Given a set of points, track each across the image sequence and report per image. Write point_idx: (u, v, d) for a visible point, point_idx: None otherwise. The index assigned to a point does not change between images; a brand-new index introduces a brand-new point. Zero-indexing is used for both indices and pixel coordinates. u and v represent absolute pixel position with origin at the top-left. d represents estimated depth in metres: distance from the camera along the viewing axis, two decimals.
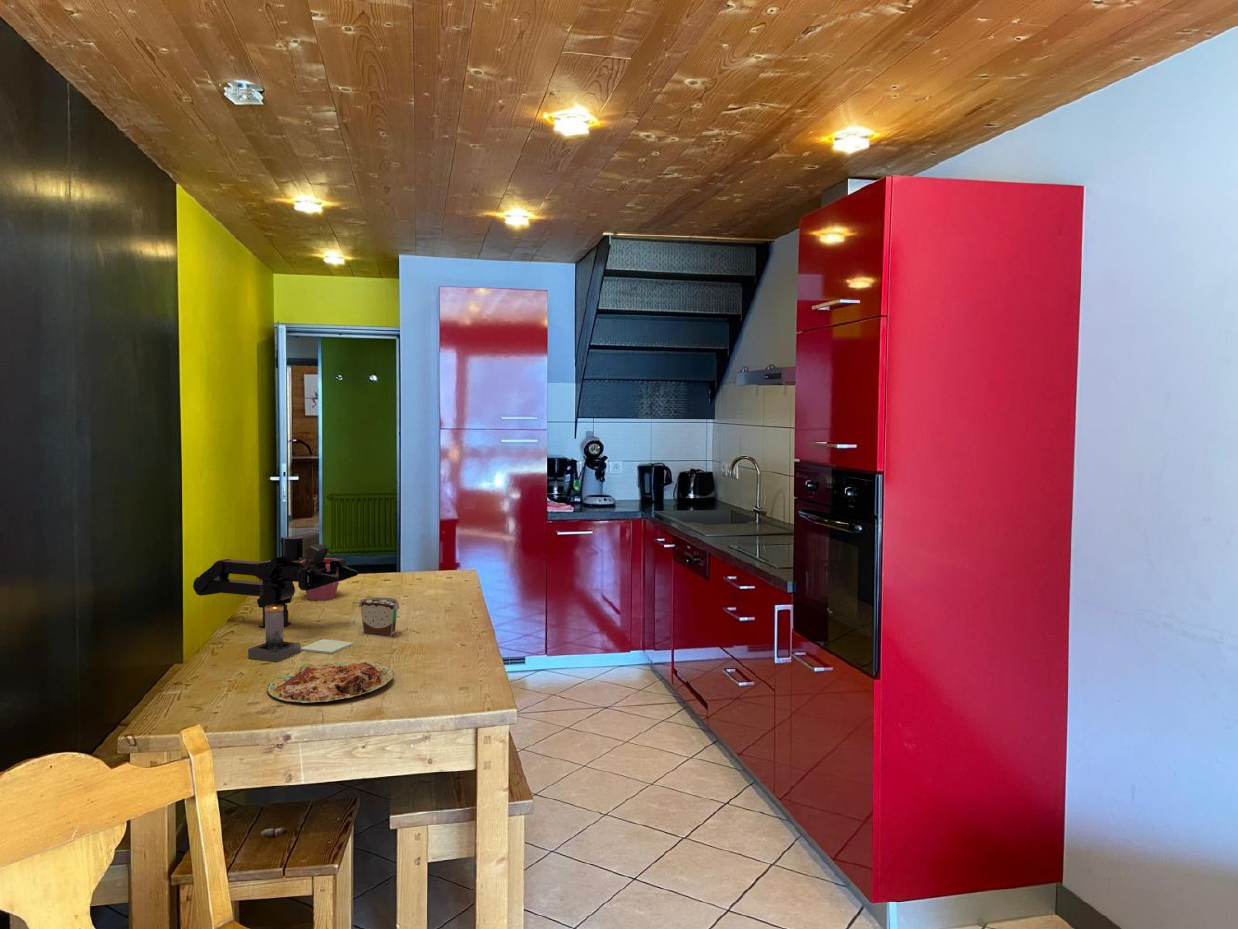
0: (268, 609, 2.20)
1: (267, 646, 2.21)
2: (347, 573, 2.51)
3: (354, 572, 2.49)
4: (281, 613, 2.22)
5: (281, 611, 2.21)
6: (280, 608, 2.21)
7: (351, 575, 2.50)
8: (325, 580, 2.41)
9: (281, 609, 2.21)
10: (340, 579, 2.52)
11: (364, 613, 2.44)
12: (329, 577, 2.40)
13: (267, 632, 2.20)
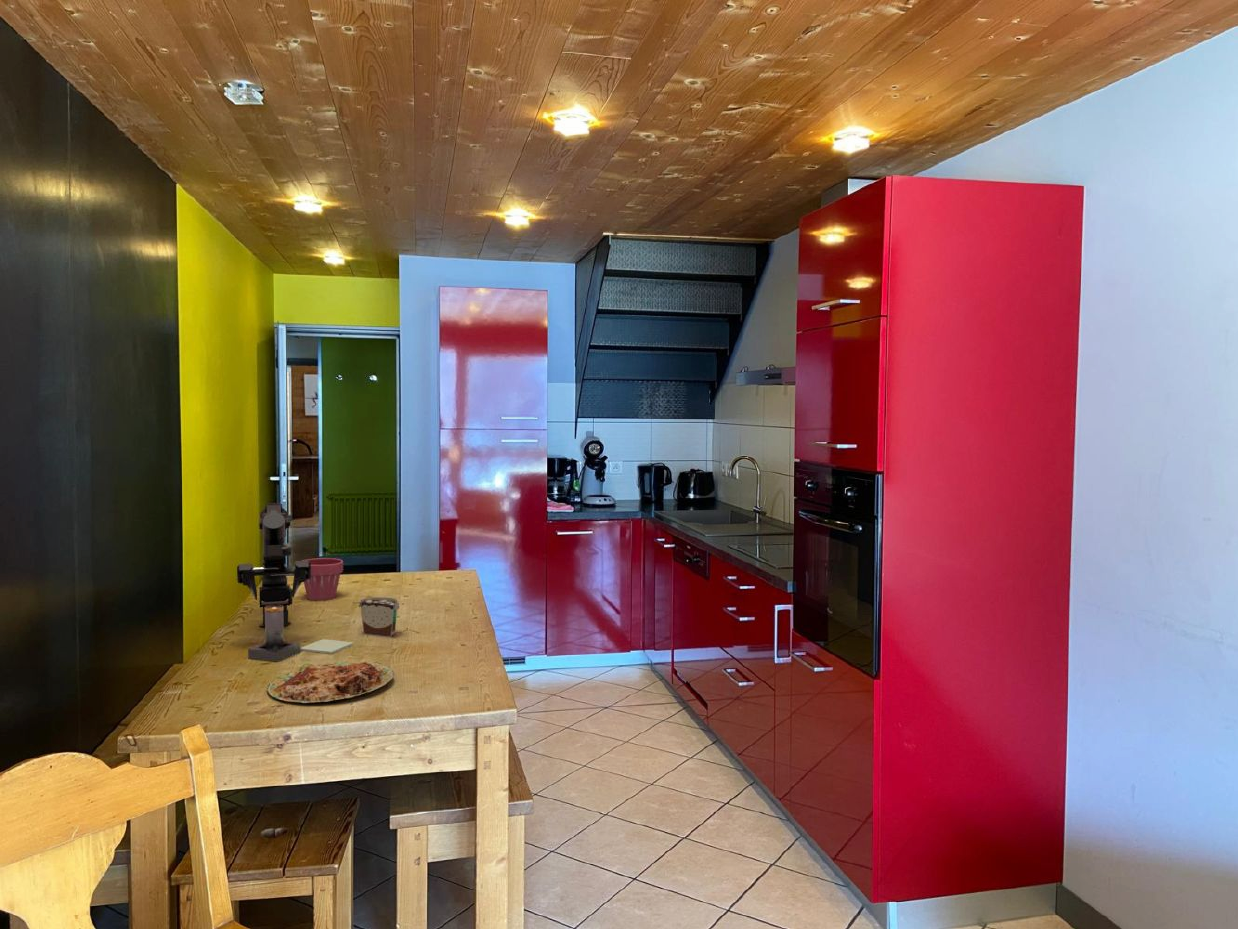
0: (268, 609, 2.20)
1: (267, 646, 2.21)
2: None
3: (292, 593, 2.31)
4: (281, 613, 2.21)
5: (281, 611, 2.21)
6: (280, 608, 2.21)
7: None
8: (251, 589, 2.29)
9: (281, 609, 2.21)
10: None
11: (364, 613, 2.44)
12: (252, 591, 2.28)
13: (267, 632, 2.20)
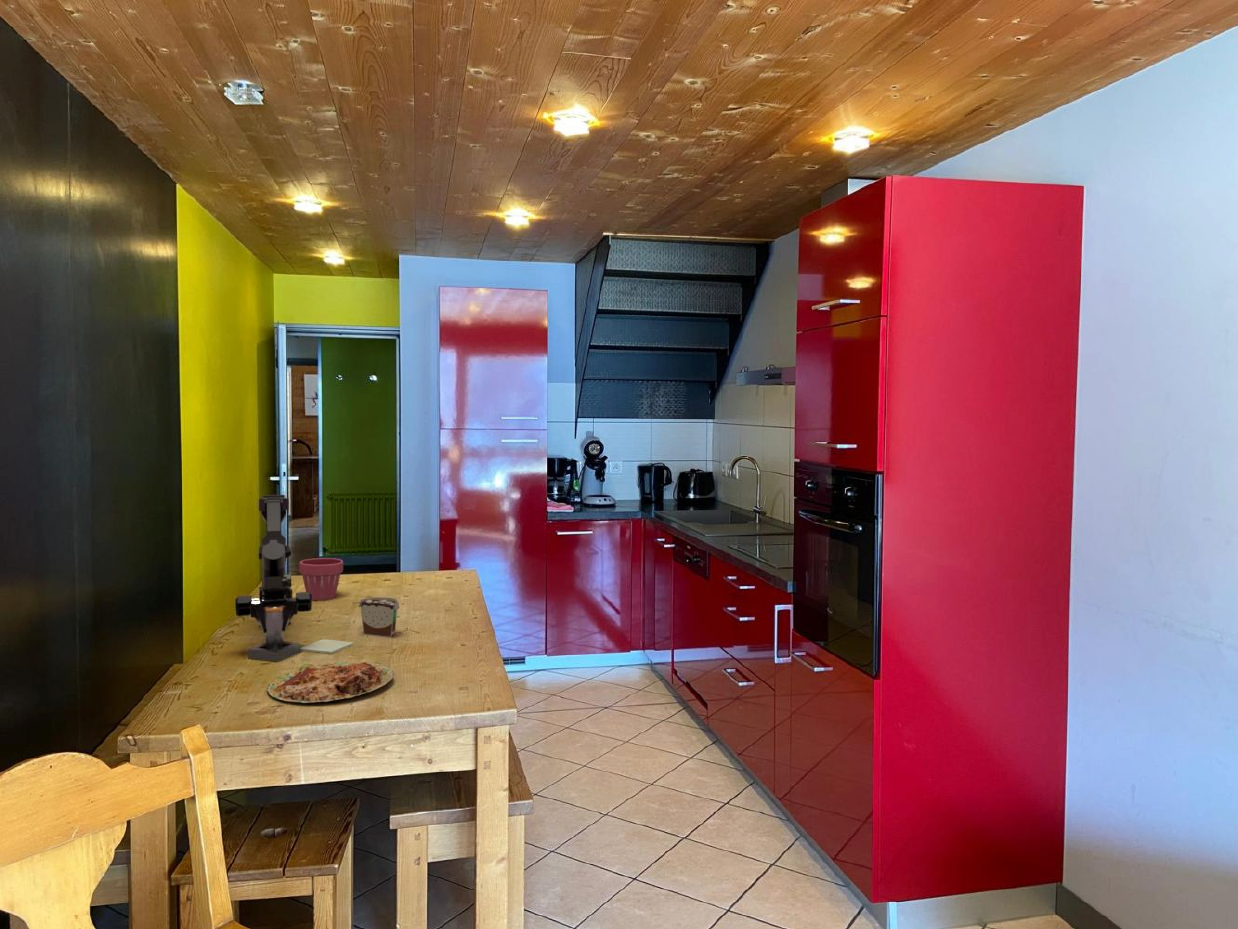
0: (268, 609, 2.20)
1: (267, 646, 2.21)
2: None
3: (283, 627, 2.23)
4: (281, 613, 2.21)
5: (281, 611, 2.21)
6: (280, 608, 2.21)
7: None
8: (259, 622, 2.23)
9: (281, 609, 2.21)
10: None
11: (364, 613, 2.44)
12: (261, 624, 2.21)
13: (267, 632, 2.20)
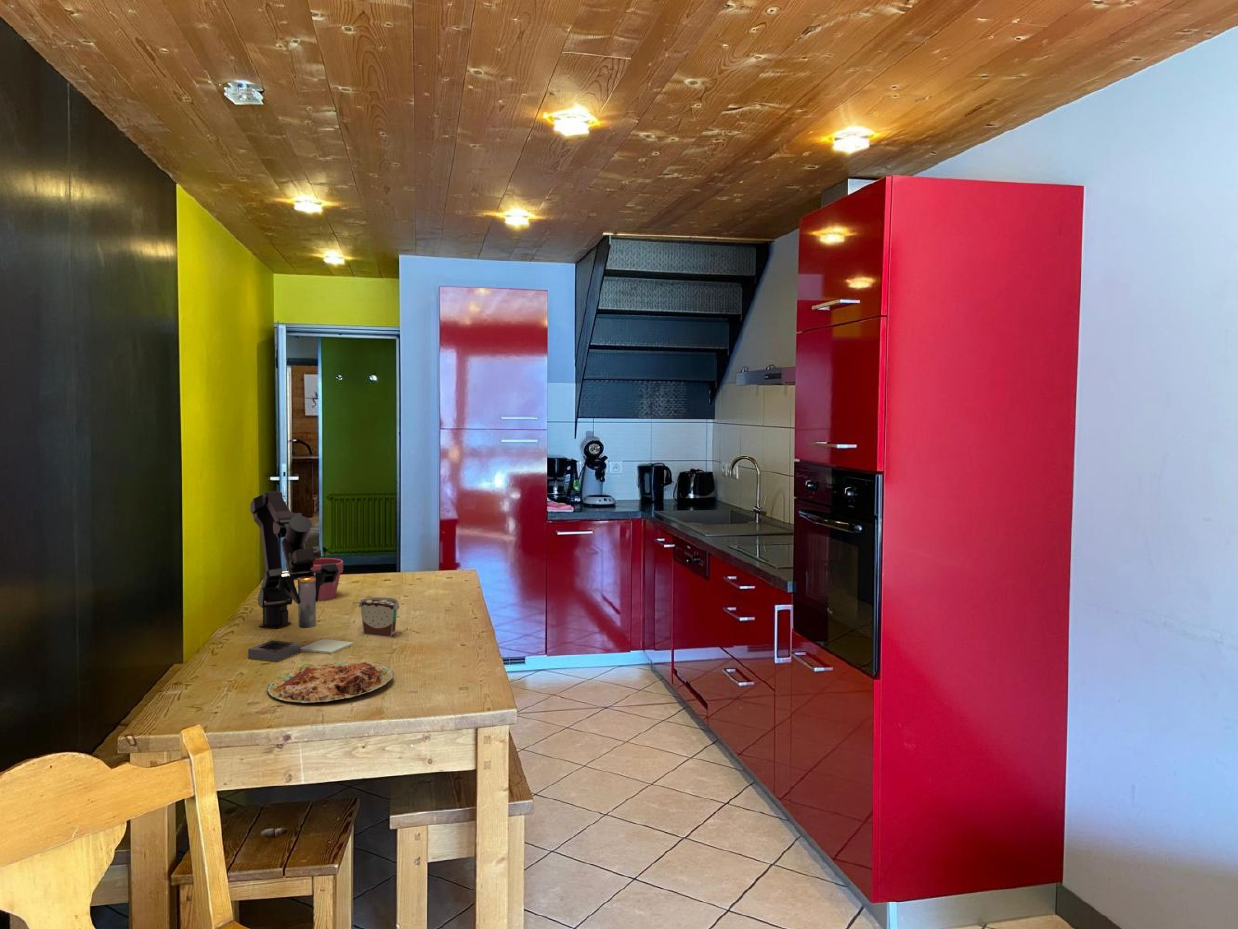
0: (303, 580, 2.24)
1: (301, 617, 2.24)
2: None
3: None
4: (315, 584, 2.26)
5: (315, 582, 2.26)
6: (314, 579, 2.25)
7: None
8: (291, 594, 2.26)
9: (315, 580, 2.26)
10: None
11: (364, 613, 2.44)
12: (293, 595, 2.25)
13: (302, 603, 2.24)
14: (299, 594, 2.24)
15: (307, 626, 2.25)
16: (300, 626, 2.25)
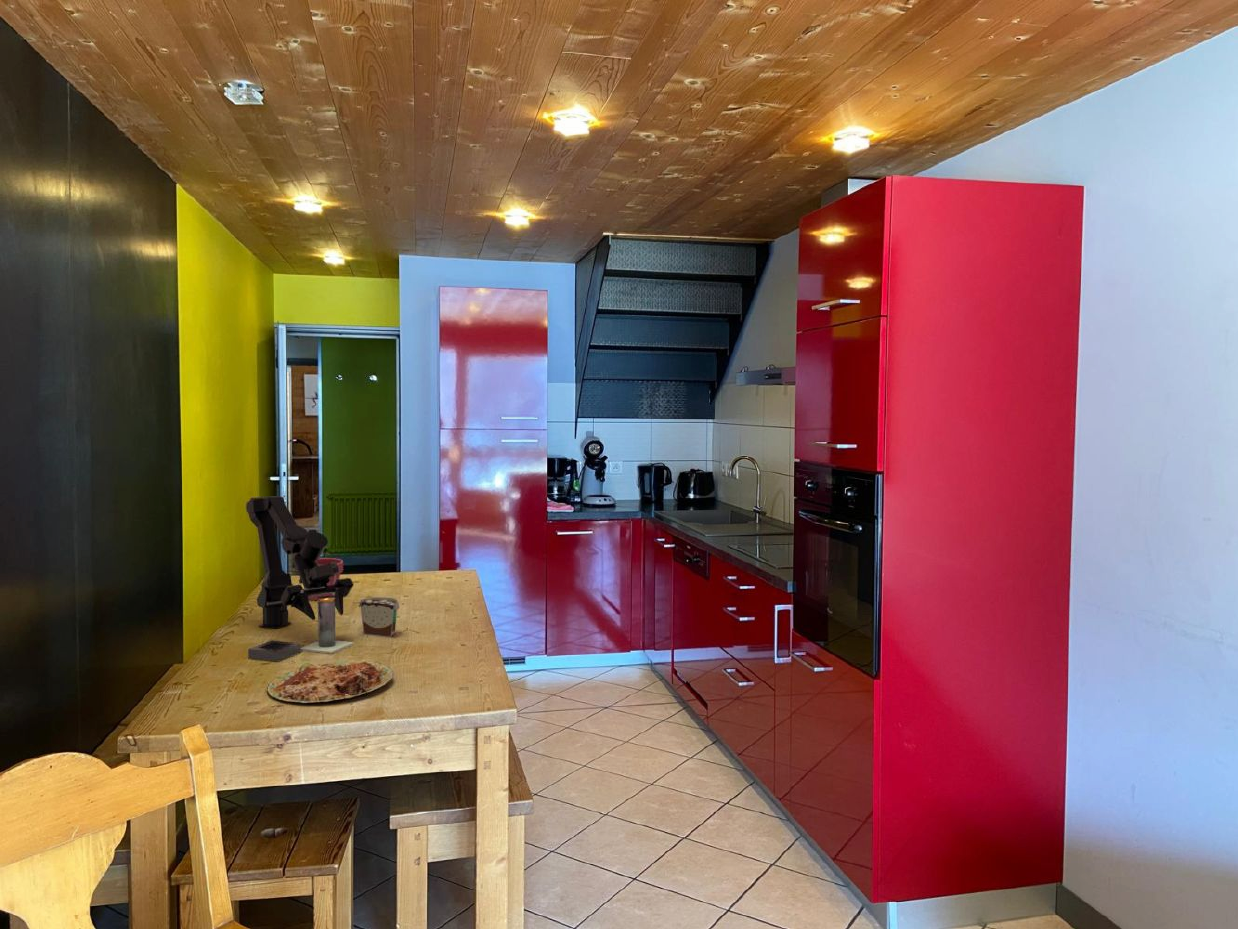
0: (324, 600, 2.28)
1: (323, 636, 2.28)
2: (338, 603, 2.34)
3: (340, 611, 2.33)
4: (334, 603, 2.31)
5: (334, 601, 2.31)
6: (334, 598, 2.30)
7: (338, 610, 2.34)
8: (305, 610, 2.28)
9: (334, 599, 2.30)
10: None
11: (364, 613, 2.44)
12: (309, 611, 2.27)
13: (323, 622, 2.28)
14: (320, 614, 2.28)
15: (329, 645, 2.29)
16: (321, 645, 2.29)
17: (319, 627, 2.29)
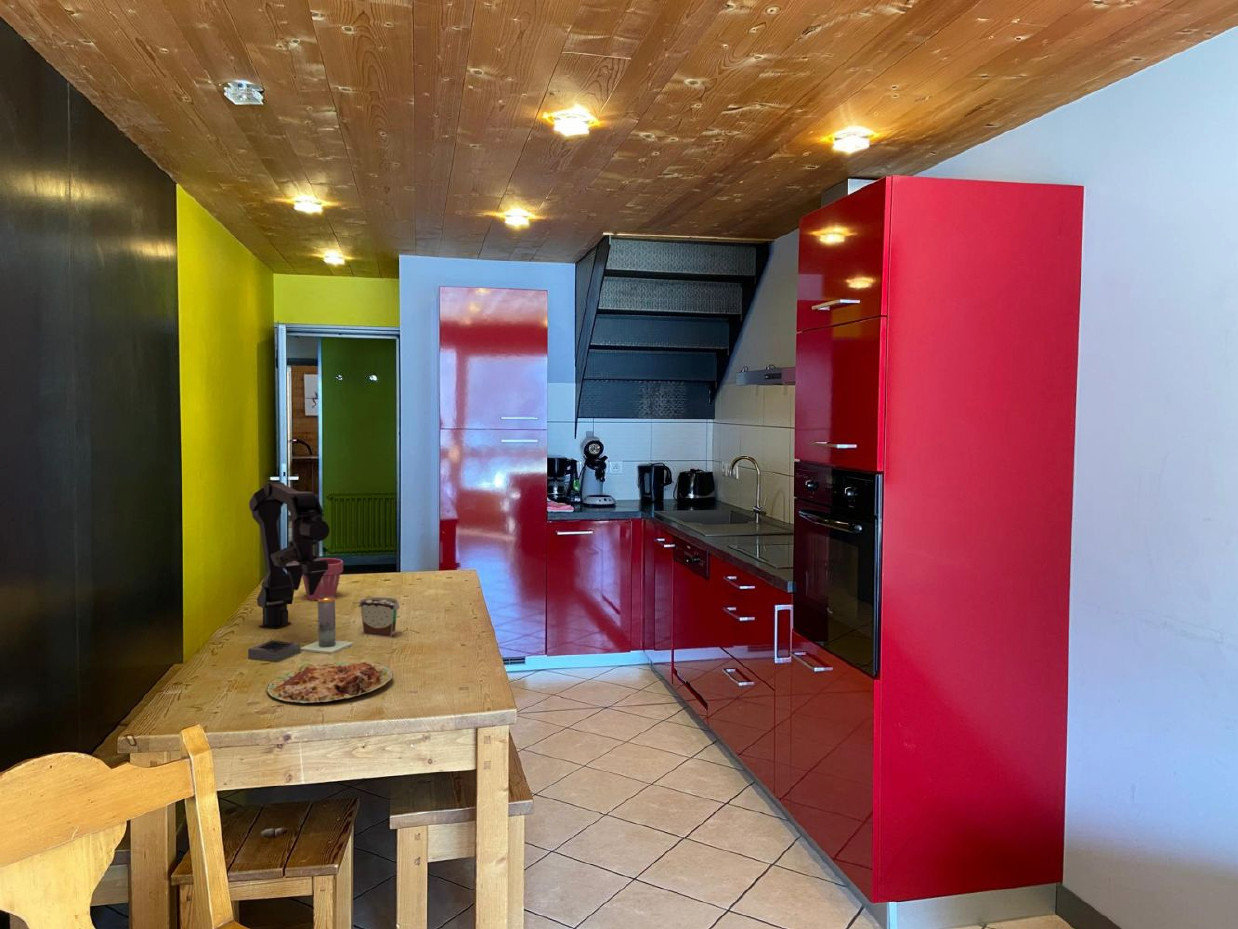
0: (324, 600, 2.28)
1: (323, 636, 2.28)
2: None
3: None
4: None
5: (334, 601, 2.30)
6: (334, 598, 2.30)
7: None
8: None
9: None
10: None
11: (364, 613, 2.44)
12: None
13: (323, 623, 2.28)
14: (320, 614, 2.28)
15: (329, 645, 2.29)
16: (321, 645, 2.29)
17: (319, 627, 2.29)
